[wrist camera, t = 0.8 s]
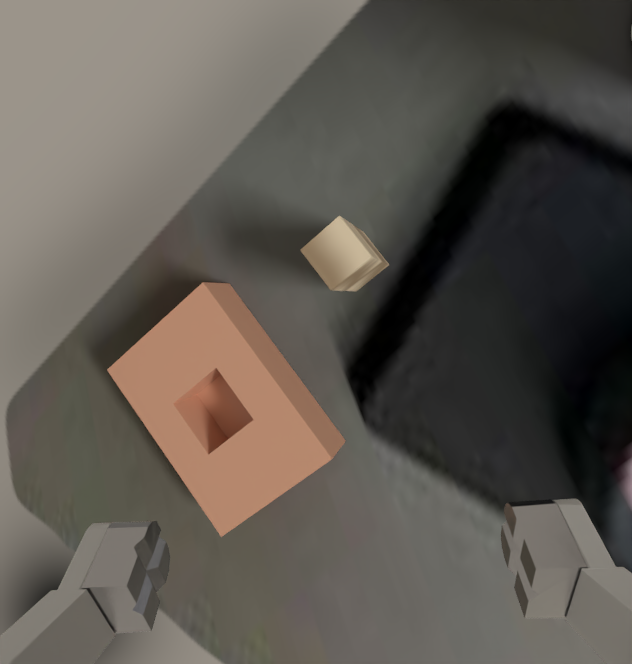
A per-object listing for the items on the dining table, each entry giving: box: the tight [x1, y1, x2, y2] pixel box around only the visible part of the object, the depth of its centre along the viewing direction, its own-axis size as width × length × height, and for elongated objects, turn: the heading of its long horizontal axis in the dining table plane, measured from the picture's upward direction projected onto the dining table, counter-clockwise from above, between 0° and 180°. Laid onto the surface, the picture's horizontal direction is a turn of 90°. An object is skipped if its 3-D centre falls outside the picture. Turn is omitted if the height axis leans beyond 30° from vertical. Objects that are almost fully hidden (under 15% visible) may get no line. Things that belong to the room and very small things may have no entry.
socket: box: [107, 282, 345, 537], centre depth 49 cm, size 14×20×6 cm
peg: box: [301, 216, 389, 291], centre depth 42 cm, size 4×4×10 cm
